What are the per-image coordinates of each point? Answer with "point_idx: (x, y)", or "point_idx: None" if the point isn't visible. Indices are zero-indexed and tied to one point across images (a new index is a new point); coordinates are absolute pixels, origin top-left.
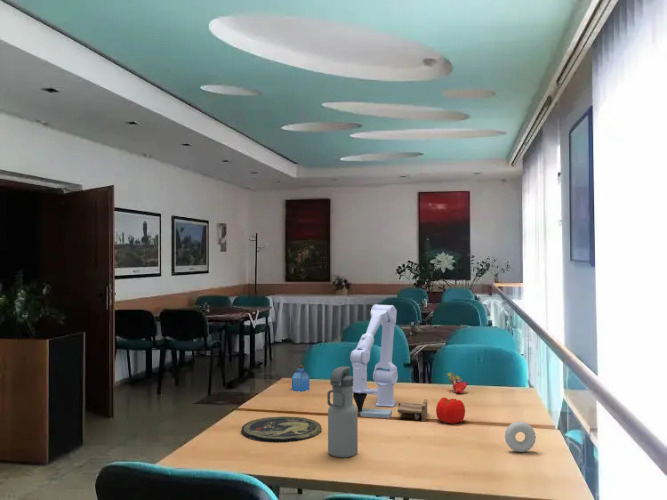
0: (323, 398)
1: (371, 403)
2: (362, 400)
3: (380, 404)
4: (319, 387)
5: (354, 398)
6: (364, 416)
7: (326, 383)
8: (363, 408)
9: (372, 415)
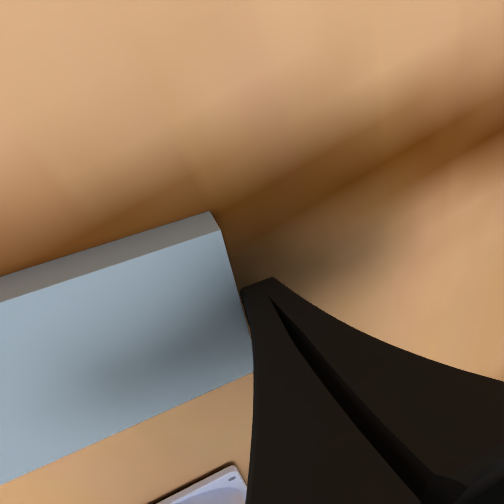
0: None
1: None
2: (275, 429)
3: (206, 493)
4: None
5: (461, 377)
6: (158, 228)
7: None
8: None
9: (38, 274)
